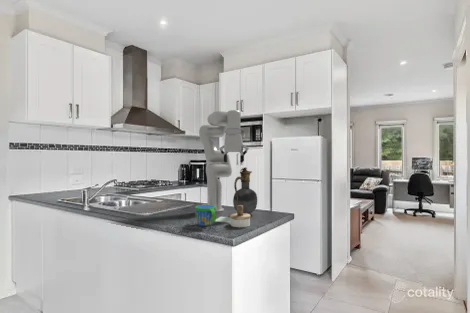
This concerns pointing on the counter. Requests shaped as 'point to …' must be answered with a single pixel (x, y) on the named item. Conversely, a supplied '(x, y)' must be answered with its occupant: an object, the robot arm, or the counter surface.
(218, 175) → the robot arm
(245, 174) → the pitcher
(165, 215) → the counter surface
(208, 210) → the snack cup
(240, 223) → the bowl
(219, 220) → the mat
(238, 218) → the lid
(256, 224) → the counter surface
